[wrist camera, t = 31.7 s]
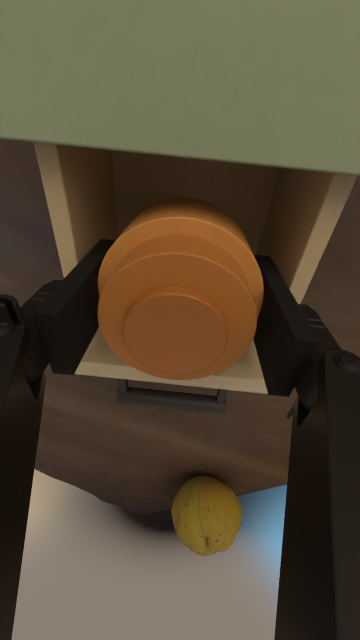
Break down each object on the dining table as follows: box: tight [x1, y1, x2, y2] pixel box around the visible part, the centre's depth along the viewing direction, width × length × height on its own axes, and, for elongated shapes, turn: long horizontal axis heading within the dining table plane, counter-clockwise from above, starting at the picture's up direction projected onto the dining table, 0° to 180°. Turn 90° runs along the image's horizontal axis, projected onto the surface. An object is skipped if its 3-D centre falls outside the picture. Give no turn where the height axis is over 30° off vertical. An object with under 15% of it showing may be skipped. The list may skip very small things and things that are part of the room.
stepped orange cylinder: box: [97, 198, 264, 380], centre depth 11 cm, size 7×7×6 cm
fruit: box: [171, 475, 242, 556], centre depth 40 cm, size 11×12×10 cm
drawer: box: [34, 142, 358, 414], centre depth 15 cm, size 22×13×8 cm, turn 175°
